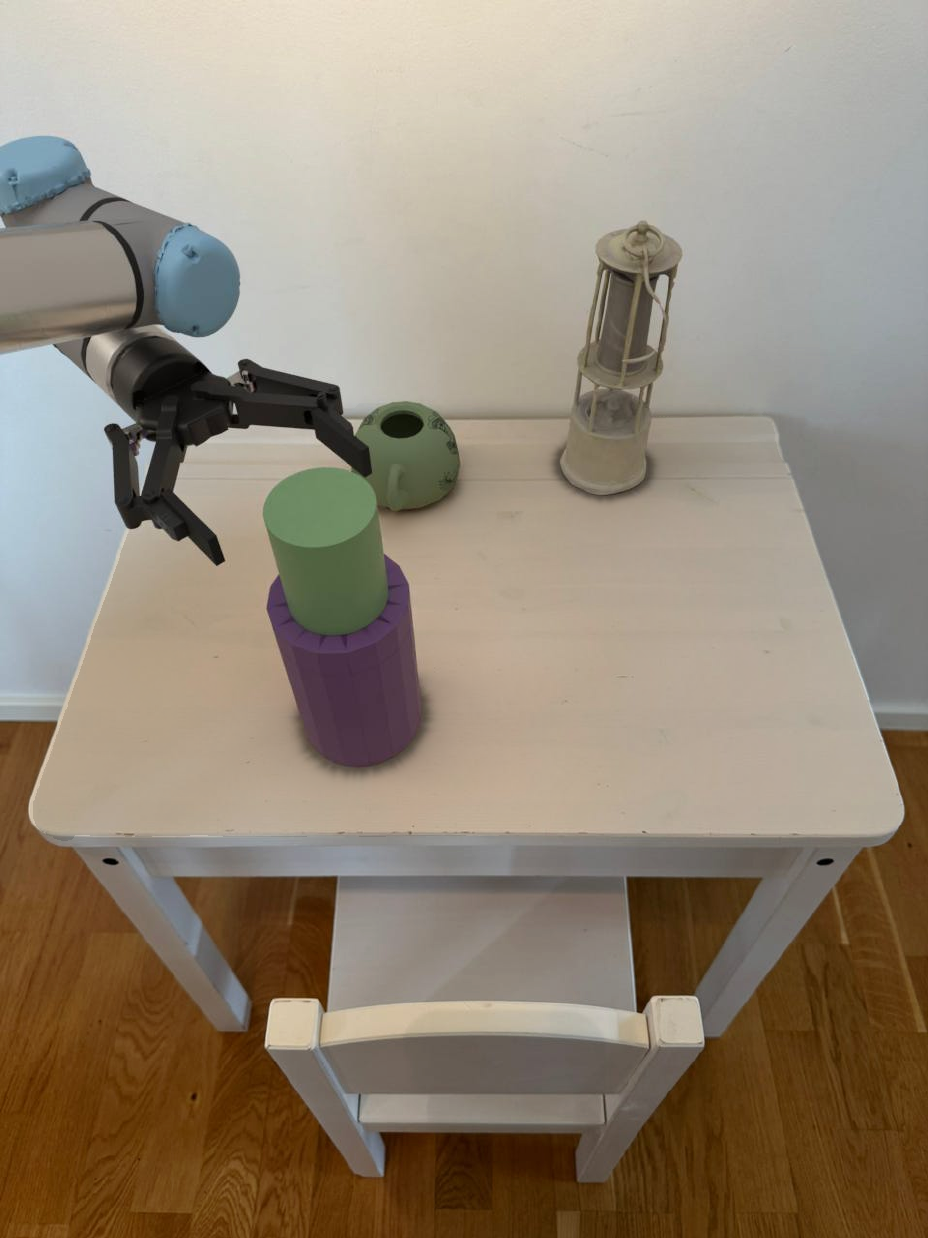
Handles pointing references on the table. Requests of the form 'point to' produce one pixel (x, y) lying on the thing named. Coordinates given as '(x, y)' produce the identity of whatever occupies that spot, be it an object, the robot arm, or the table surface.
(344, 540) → the green cylinder
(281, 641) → the jar
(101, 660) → the table surface
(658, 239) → the lamp
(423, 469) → the green round pot
